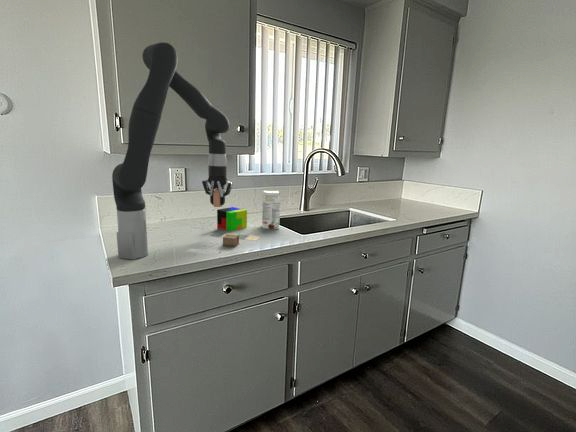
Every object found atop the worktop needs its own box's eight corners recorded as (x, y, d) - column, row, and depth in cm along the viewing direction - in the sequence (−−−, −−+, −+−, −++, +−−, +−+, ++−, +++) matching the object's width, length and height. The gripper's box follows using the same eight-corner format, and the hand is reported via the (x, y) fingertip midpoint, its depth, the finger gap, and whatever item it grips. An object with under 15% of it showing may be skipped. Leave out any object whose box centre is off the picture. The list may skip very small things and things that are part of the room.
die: (234, 250, 129) (234, 238, 128) (222, 249, 130) (222, 237, 129) (239, 246, 134) (239, 234, 133) (227, 245, 135) (227, 233, 134)
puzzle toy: (233, 226, 166) (233, 207, 163) (246, 230, 159) (247, 210, 157) (217, 229, 158) (217, 209, 156) (231, 234, 152) (231, 213, 150)
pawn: (218, 207, 140) (218, 189, 138) (211, 206, 141) (211, 188, 140) (223, 206, 143) (223, 188, 141) (216, 205, 144) (216, 187, 143)
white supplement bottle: (279, 231, 159) (280, 192, 155) (261, 231, 158) (262, 192, 154) (278, 227, 166) (279, 190, 162) (261, 227, 166) (262, 190, 161)
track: (256, 243, 138) (256, 240, 138) (208, 238, 143) (208, 235, 142) (261, 239, 145) (261, 236, 145) (215, 234, 149) (215, 231, 149)
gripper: (197, 164, 136) (198, 204, 140) (229, 166, 133) (229, 207, 137) (206, 163, 143) (206, 202, 147) (236, 165, 140) (236, 204, 144)
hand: (217, 204), depth 142 cm, fingers closed on pawn, 3 cm apart
